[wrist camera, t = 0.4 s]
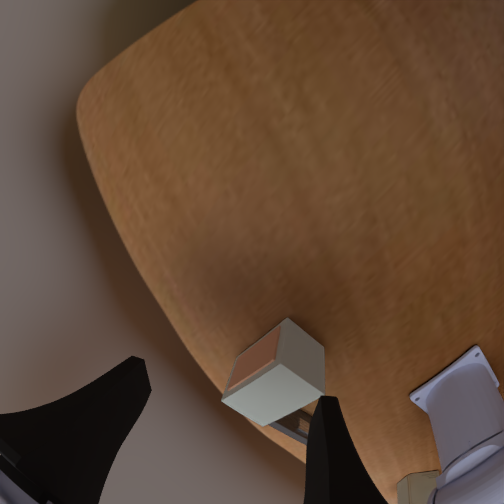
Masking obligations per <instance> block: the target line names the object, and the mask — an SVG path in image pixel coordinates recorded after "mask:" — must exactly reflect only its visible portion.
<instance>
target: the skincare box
mask: <svg viewBox="0 0 504 504" xmlns="http://www.w3.org/2000/svg"><path fill="white" fill-rule="evenodd" d="M438 476H440V475H439V471H430V472H422V473H413V474H409V475H408V476H406V477H405V478H404V479H403V480H401V481H400V482H399V483H397V494H398V504H427V501H428V498H429V495H430V493H431V492H432V490H433V489H434V488H435V487H437V484H436V477H438Z"/></svg>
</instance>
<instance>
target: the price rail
mask: <svg viewBox="0 0 504 504" xmlns="http://www.w3.org/2000/svg"><path fill="white" fill-rule="evenodd" d="M311 419H312V417H311V416H310V415H308V414H306V413H305V412H303V411H301V410H300V409H298V410H296V411H294V412H292V413H290V414H288V415H286V416H284V417H282V418H280V419H278V420H276V421H274V422H272V423H270V424H268V425H270V426H271V427H273V428H275V429H277V430H279V431H280V432H282V433H284V434H286V435H288V436H290V437H292V438H293V439H295V440H297V441H299V442H301V443H303V444H305V445H307V439H308V432H309V425H310V422H311Z"/></svg>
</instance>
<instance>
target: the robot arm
mask: <svg viewBox="0 0 504 504" xmlns="http://www.w3.org/2000/svg"><path fill="white" fill-rule="evenodd" d="M498 386H499V382H498V380H497V378H496V376H495V374H494V373H493V371H492V369H491V367H490V365H489V363H488V362H487V360H486V358H485V356H484V355H483V353H482V351H481V349H480V348H479V346H478V345H476V346H474V347H472V348H471V349H470V350H469V351H468V352H466V353H465V354H464V355H463V356H462V357H460V358H459V359H458V360H457V361H455V362H454V363H453V364H452V365H450V366H449V367H448V368H446V369H445V370H444V371H442V372H441V373H440V374H438V375H437V376H436V377H434V378H433V379H431V380H430V381H428V382H427V383H426V384H424V385H423V386H421V387H420V388H418V389H417V390H415V391H414V392H412V393H411V394H410V399H411V400H412V401H413V402H414V403H415V404H416V405H418V406H419V407H420V408H421V409H422V410H424V411H425V412H426V413H427V414H428V415H429V418H430V422H431V426H432V430H433V434H434V438H435V442H436V446H437V450H438V455H439V459H440V464H441V469H442V474H441V475H440V476H438V477H436V484H437V487H435V488H434V489H433V490H432V492H431V493H430V495H429V498H428V501H427V504H504V401H503V399H502V397H501V395H500V393H499V391H498V389H497V388H498ZM151 391H152V390H151V386H150V382H149V378H148V374H147V370H146V365H145V361H144V359H141V358H138V357H135V356H131V357H129V358H128V359H126V360H125V361H123V362H122V363H120V364H119V365H117V366H116V367H114V368H113V369H111V370H110V371H108V372H107V373H105V374H104V375H102V376H101V377H99V378H97V379H96V380H94V381H93V382H91V383H90V384H88V385H86V386H84V387H83V388H81V389H79V390H77V391H76V392H74V393H72V394H70V395H68V396H65V397H63V398H61V399H59V400H57V401H54V402H51V403H49V404H45V405H42V406H40V407H36V408H33V409H29V410H25V411H20V412H15V413H7V414H0V454H1V455H0V504H98V503H99V500H100V496H101V493H102V490H103V487H104V484H105V481H106V478H107V476H108V473H109V471H110V468H111V466H112V464H113V461H114V459H115V457H116V455H117V452H118V451H119V449H120V447H121V445H122V443H123V442H124V440H125V439H126V437H127V435H128V434H129V432H130V430H131V429H132V427H133V426H134V424H135V422H136V421H137V419H138V418H139V416H140V414H141V413H142V411H143V409H144V407H145V405H146V403H147V400H148V398H149V396H150V393H151ZM304 504H388V503H387V501H386V500H385V499H384V497H383V496H382V495H381V493H380V492H379V490H378V489H377V487H376V486H375V484H374V483H373V481H372V479H371V478H370V476H369V474H368V473H367V471H366V469H365V467H364V465H363V463H362V461H361V459H360V457H359V455H358V453H357V451H356V448H355V446H354V444H353V441H352V439H351V437H350V434H349V432H348V429H347V426H346V423H345V421H344V418H343V415H342V412H341V408H340V405H339V401H338V398H337V397H334V396H323V395H320V398H319V401H318V404H317V406H316V409H315V411H314V414H313V417H312V419H311V422H310V425H309V432H308V439H307V450H306V481H305V497H304Z"/></svg>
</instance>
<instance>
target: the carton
mask: <svg viewBox="0 0 504 504" xmlns="http://www.w3.org/2000/svg"><path fill="white" fill-rule="evenodd" d="M320 395H323V396H324V395H325V355H324V347H323V346H322V345H321V344H320V343H318V342H317V341H316V340H315V339H313V338H312V337H311V336H310V335H309V334H307V333H306V332H305V331H304V330H302V329H301V328H300V327H299V326H298V325H296V324H295V323H294V322H293V321H292V320H290V319H289V318H288V317H287V318H286V319H285V320H283V321H282V322H281V323H280V324H278V325H277V326H276V327H275V328H273V329H272V330H271V331H270V332H268V333H267V334H266V335H265V336H263V337H262V338H261V339H259V340H258V341H257V342H256V343H254V344H253V345H252V346H250V347H249V348H248V349H246V350H245V351H244V352H242V353H241V354H240V355H238V356H237V357H236V360H235V362H234V365H233V368H232V371H231V374H230V377H229V380H228V383H227V385H226V388H225V391H224V394H223V397H222V400H221V401H222V402H223V403H225V404H227V405H228V406H230V407H231V408H233V409H235V410H236V411H238V412H239V413H241V414H242V415H244V416H246V417H247V418H249V419H251V420H252V421H254V422H256V423H258V424H259V425H261V426H265V425H267V424H270V423H272V422H274V421H276V420H278V419H280V418H282V417H284V416H286V415H288V414H290V413H292V412H294V411H296V410H298V409H300V408H302V407H304V406H305V405H307V404H309V403H311V402H313V401H315V400H316V399H318V398H320Z"/></svg>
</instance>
